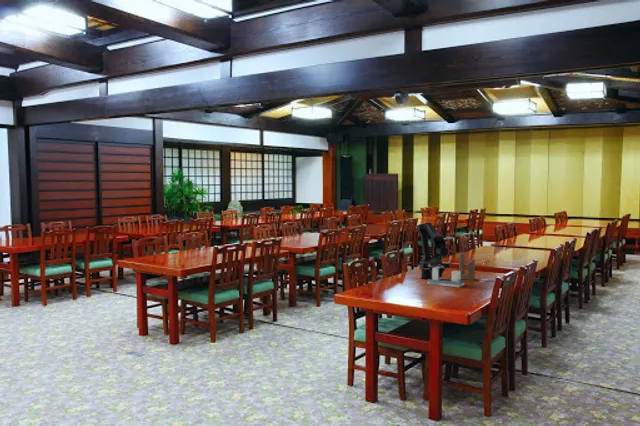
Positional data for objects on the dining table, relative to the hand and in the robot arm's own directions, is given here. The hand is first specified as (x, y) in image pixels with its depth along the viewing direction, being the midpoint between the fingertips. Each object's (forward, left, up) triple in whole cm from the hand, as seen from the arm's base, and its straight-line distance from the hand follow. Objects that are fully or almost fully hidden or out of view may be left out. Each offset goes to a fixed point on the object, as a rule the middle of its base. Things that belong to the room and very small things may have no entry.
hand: (437, 276), depth 354 cm
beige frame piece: (+11, +26, -5) cm, 29 cm away
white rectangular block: (0, 0, -2) cm, 2 cm away
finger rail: (+6, 0, -4) cm, 7 cm away
